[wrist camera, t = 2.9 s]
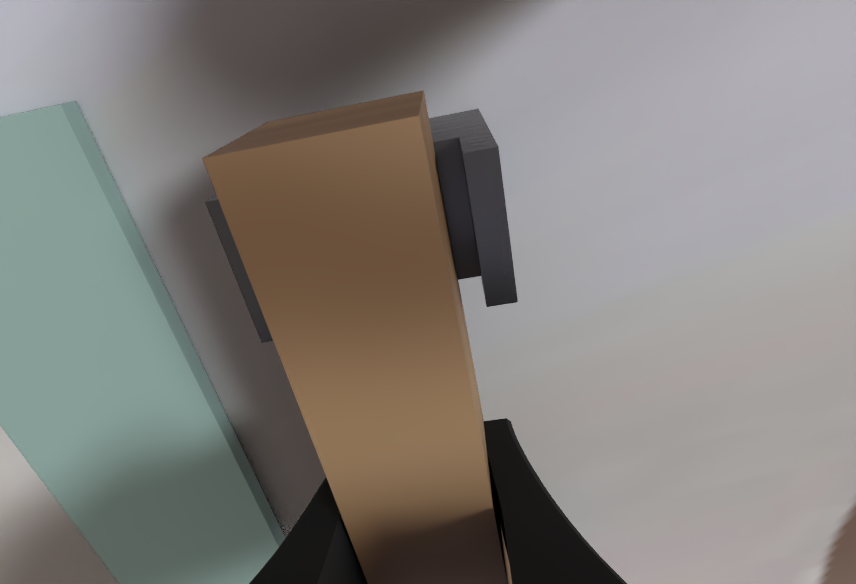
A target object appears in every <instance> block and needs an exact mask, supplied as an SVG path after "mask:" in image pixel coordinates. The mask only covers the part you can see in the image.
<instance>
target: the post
mask: <svg viewBox="0 0 856 584" xmlns="http://www.w3.org/2000/svg"><path fill="white" fill-rule="evenodd" d="M429 123H430V129H431V134H432V140H433V145H434V151H435V156H436V162H437V167H438V173H439V178H440V184H441V189H442V195H443V200H444V206H445V211H446V217H447V222H448V228H449V233H450V239H451V244H452V250H453V256H454V261H455V267H456V272H457V278H458V279H464V278H470V277H476V276H481V278H482V284H483V289H484V295H485V300H486V305H487V307H489V306H496V305H502V304H508V303H515V302H518V301H517V293H516V285H515V277H514V269H513V261H512V253H511V245H510V237H509V229H508V221H507V213H506V205H505V197H504V189H503V181H502V173H501V165H500V157H499V149H498V145H497V143H496V142H495V140H494V138H493V136H492V134H491V132H490V130H489V128H488V126H487V124H486V123H485V121H484V119H483V117H482V115H481V113H480V111H479V109H475V110H470V111H465V112H460V113H455V114H450V115H445V116H440V117H435V118H429ZM205 203H206V206H207V208H208V211H209V213H210V215H211V218H212V220H213V223H214V225H215V228H216V230H217V233H218V235H219V238H220V240H221V243H222V245H223V248H224V250H225V253H226V255H227V258H228V260H229V263H230V265H231V267H232V270H233V272H234V275H235V277H236V280H237V282H238V285H239V287H240V290H241V292H242V295H243V297H244V300H245V302H246V305H247V307H248V310H249V312H250V314H251V317H252V319H253V322H254V324H255V327H256V329H257V332H258V334H259V337H260V339H261V342H262V343H263V342H269V341H273V339H272V336H271V334H270V331H269V328H268V326H267V323H266V321H265V318H264V316H263V313H262V311H261V308H260V305H259V303H258V300H257V298H256V295H255V293H254V290H253V287H252V285H251V282H250V280H249V277H248V275H247V272H246V269H245V267H244V264H243V262H242V259H241V257H240V254H239V251H238V249H237V246H236V244H235V241H234V239H233V236H232V233H231V231H230V228H229V226H228V223H227V221H226V218H225V215H224V213H223V210H222V208H221V205H220V203H219V200H218V197H217V195H216V194H215V195H214V196H212V197H211V198H210V199H208V200H207V201H206V202H205Z"/></svg>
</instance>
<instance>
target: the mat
mask: <svg viewBox="0 0 856 584" xmlns="http://www.w3.org/2000/svg"><path fill="white" fill-rule="evenodd" d="M0 426H1V427H2V428H3V430H4V431H5V432H6V434H7V435H8V436H9V438H10V439H11V440H12V442H13V443H14V444H15V446H16V447H17V448H18V450H19V451H20V452H21V454H22V455H23V456H24V458H25V459H26V460H27V462H28V463H29V464H30V466H31V467H32V468H33V470H34V471H35V472H36V474H37V475H38V476H39V478H40V479H41V480H42V482H43V483H44V484H45V486H46V487H47V488H48V490H49V491H50V492H51V494H52V495H53V496H54V498H55V499H56V500H57V502H58V503H59V504H60V506H61V507H62V508H63V510H64V511H65V512H66V514H67V515H68V516H69V518H70V519H71V520H72V522H73V523H74V524H75V526H76V527H77V528H78V530H79V531H80V532H81V534H82V535H83V536H84V538H85V539H86V540H87V542H88V543H89V544H90V546H91V547H92V548H93V550H94V551H95V552H96V554H97V555H98V556H99V558H100V559H101V560H102V562H103V563H104V564H105V566H106V567H107V568H108V570H109V571H110V572H111V574H112V575H113V576H114V578H115V579H116V580H117V582H118V583H119V584H249V583H250V582H251V581H252V580H253V578H254V577H255V576H256V575H257V574H258V573H259V571H260V570H261V569H262V568H263V567H264V565H265V564H266V563H267V562H268V560H269V559H270V558H271V557H272V555H273V554H274V553H275V552H276V550H277V549H278V548H279V546H280V545H281V544H282V542H283V541H284V540H285V536H284V534H283V532H282V530H281V528H280V526H279V524H278V522H277V519H276V517H275V515H274V513H273V511H272V509H271V507H270V505H269V503H268V501H267V499H266V497H265V494H264V492H263V490H262V488H261V486H260V484H259V482H258V480H257V478H256V476H255V474H254V471H253V469H252V467H251V465H250V463H249V461H248V459H247V457H246V455H245V453H244V451H243V448H242V446H241V444H240V442H239V440H238V438H237V436H236V434H235V432H234V430H233V428H232V426H231V423H230V421H229V419H228V417H227V415H226V413H225V411H224V409H223V407H222V405H221V403H220V400H219V398H218V396H217V394H216V392H215V390H214V388H213V386H212V384H211V382H210V380H209V377H208V375H207V373H206V371H205V369H204V367H203V365H202V363H201V361H200V359H199V357H198V355H197V352H196V350H195V348H194V346H193V344H192V342H191V340H190V338H189V336H188V334H187V332H186V329H185V327H184V325H183V323H182V321H181V319H180V317H179V315H178V313H177V311H176V309H175V306H174V304H173V302H172V300H171V298H170V296H169V294H168V292H167V290H166V288H165V286H164V284H163V281H162V279H161V277H160V275H159V273H158V271H157V269H156V267H155V265H154V263H153V261H152V258H151V256H150V254H149V252H148V250H147V248H146V246H145V244H144V242H143V240H142V238H141V235H140V233H139V231H138V229H137V227H136V225H135V223H134V221H133V219H132V217H131V215H130V213H129V210H128V208H127V206H126V204H125V202H124V200H123V198H122V196H121V194H120V192H119V190H118V187H117V185H116V183H115V181H114V179H113V177H112V175H111V173H110V171H109V169H108V167H107V164H106V162H105V160H104V158H103V156H102V154H101V152H100V150H99V148H98V146H97V144H96V142H95V139H94V137H93V135H92V133H91V131H90V129H89V127H88V125H87V123H86V121H85V119H84V116H83V114H82V112H81V110H80V108H79V106H78V104H77V102H76V101H74V102H69V103H64V104H59V105H55V106H50V107H46V108H41V109H36V110H32V111H27V112H22V113H18V114H13V115H8V116H4V117H0Z"/></svg>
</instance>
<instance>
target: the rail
mask: <svg viewBox="0 0 856 584" xmlns="http://www.w3.org/2000/svg"><path fill="white" fill-rule="evenodd" d="M202 159H203V161H204V164H205V167H206V169H207V172H208V174H209V177H210V179H211V182H212V185H213V187H214V190H215V192H216V195H217V197H218V200H219V203H220V205H221V208H222V210H223V213H224V215H225V218H226V221H227V223H228V226H229V228H230V231H231V233H232V236H233V239H234V241H235V244H236V246H237V249H238V251H239V254H240V257H241V259H242V262H243V264H244V267H245V269H246V272H247V275H248V277H249V280H250V282H251V285H252V287H253V290H254V293H255V295H256V298H257V300H258V303H259V305H260V308H261V311H262V313H263V316H264V318H265V321H266V323H267V326H268V328H269V331H270V334H271V336H272V339H273V341H274V344H275V346H276V349H277V352H278V354H279V357H280V359H281V362H282V364H283V367H284V370H285V372H286V375H287V377H288V380H289V382H290V385H291V388H292V390H293V393H294V395H295V398H296V400H297V403H298V406H299V408H300V411H301V413H302V416H303V418H304V421H305V424H306V426H307V429H308V431H309V434H310V436H311V439H312V442H313V444H314V447H315V449H316V452H317V454H318V457H319V460H320V462H321V465H322V467H323V470H324V472H325V475H326V478H327V480H328V483H329V485H330V488H331V490H332V493H333V495H334V498H335V501H336V503H337V506H338V508H339V511H340V513H341V516H342V519H343V521H344V524H345V526H346V529H347V531H348V534H349V537H350V539H351V542H352V544H353V547H354V549H355V552H356V555H357V557H358V560H359V562H360V565H361V567H362V570H363V573H364V575H365V578H366V580H367V583H368V584H512V579H511V572H510V564H509V560H508V555H507V551H506V547H505V542H504V538H503V534H502V529H501V525H500V520H499V514H498V509H497V503H496V498H495V492H494V487H493V482H492V476H491V471H490V465H489V460H488V455H487V449H486V440H485V430H484V421H483V415H482V410H481V404H480V399H479V393H478V388H477V382H476V377H475V371H474V366H473V360H472V355H471V349H470V344H469V338H468V333H467V327H466V322H465V316H464V311H463V305H462V300H461V294H460V289H459V283H458V278H457V272H456V267H455V261H454V256H453V250H452V244H451V239H450V233H449V228H448V222H447V217H446V211H445V206H444V200H443V195H442V189H441V184H440V178H439V173H438V167H437V162H436V156H435V151H434V145H433V140H432V134H431V129H430V123H429V118H428V112H427V107H426V101H425V96H424V91H419V92H414V93H409V94H404V95H399V96H394V97H389V98H384V99H379V100H374V101H369V102H364V103H359V104H354V105H349V106H344V107H340V108H335V109H330V110H325V111H320V112H315V113H310V114H305V115H300V116H295V117H290V118H285V119H280V120H275V121H270V122H266V123H265V124H263V125H261V126H259V127H257V128H256V129H254V130H252V131H250V132H249V133H247V134H245V135H243V136H241V137H240V138H238V139H236V140H234V141H233V142H231V143H229V144H227V145H225V146H224V147H222V148H220V149H218V150H216V151H215V152H213V153H211V154H209V155H208V156H206V157H204V158H202Z"/></svg>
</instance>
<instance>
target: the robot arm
mask: <svg viewBox="0 0 856 584" xmlns="http://www.w3.org/2000/svg"><path fill="white" fill-rule="evenodd" d="M484 430H485V440H486V449H487V455H488V460H489V465H490V471H491V476H492V482H493V487H494V492H495V498H496V503H497V509H498V514H499V520H500V525H501V529H502V534H503V538H504V542H505V547H506V551H507V555H508V560H509V564H510V572H511V579H512V584H627V583H626V582H625V581H624V580H623V579H622V578H621V577H620V576H619V575H618V574H617V573H616V572H615V571H614V570H613V569H612V568H611V567H610V566H609V565H608V564H607V563H606V562H605V561H604V560H603V559H602V558H601V557H600V556H599V555H598V554H597V553H596V551H595V550H594V549H593V548H592V547H591V546H590V545H589V543H588V542H587V541H586V540H585V539H584V538H583V537H582V535H581V534H580V533H579V532H578V531H577V529H576V528H575V527H574V526H573V525H572V523H571V522H570V521H569V520H568V518H567V517H566V516H565V514H564V513H563V512H562V510H561V509H560V508H559V506H558V505H557V504H556V502H555V501H554V499H553V498H552V497H551V495H550V494H549V492H548V491H547V490H546V488H545V487H544V485H543V484H542V482H541V480H540V479H539V477H538V476H537V474H536V472H535V471H534V469H533V468H532V466H531V464H530V463H529V461H528V459H527V457H526V455H525V454H524V452H523V450H522V448H521V446H520V444H519V442H518V440H517V437H516V435H515V433H514V430H513V427H512V424H511V421H509V420H508V419H499V420H491V421H484ZM249 584H368V583H367V580H366V578H365V575H364V573H363V570H362V567H361V565H360V562H359V560H358V557H357V555H356V552H355V549H354V547H353V544H352V542H351V539H350V537H349V534H348V531H347V529H346V526H345V524H344V521H343V519H342V516H341V513H340V511H339V508H338V506H337V503H336V501H335V498H334V495H333V493H332V490H331V488H330V485H329V483H328V480H327V478H325V479H324V481H323V483H322V484H321V486H320V487H319V489H318V491H317V492H316V494H315V495H314V497H313V499H312V500H311V502H310V503H309V505H308V507H307V508H306V510H305V511H304V513H303V514H302V515H301V517H300V518H299V520H298V521H297V523H296V524H295V526H294V527H293V528H292V530H291V531H290V533H289V534H288V536H287V537H286V538H285V540H284V541H283V542H282V544H281V545H280V546H279V548H278V549H277V550H276V552H275V553H274V554H273V555H272V557H271V558H270V559H269V560H268V562H267V563H266V564H265V565H264V567H263V568H262V569H261V570H260V571H259V573H258V574H257V575H256V576H255V577H254V578H253V580H252V581H251V582H250V583H249Z"/></svg>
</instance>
